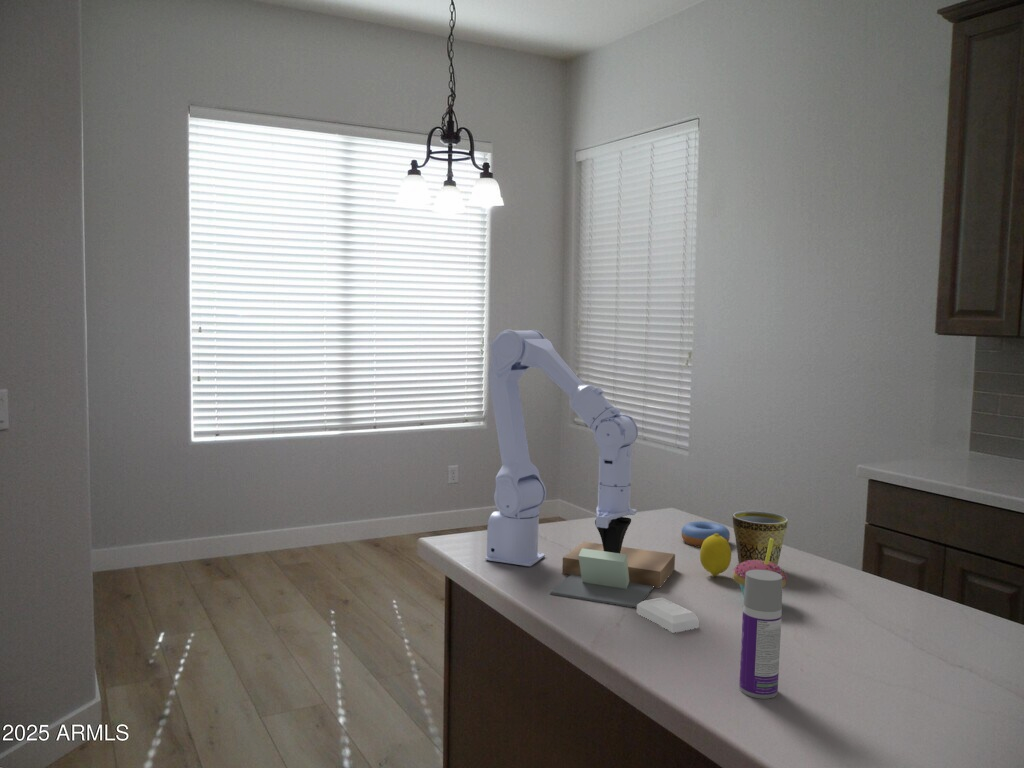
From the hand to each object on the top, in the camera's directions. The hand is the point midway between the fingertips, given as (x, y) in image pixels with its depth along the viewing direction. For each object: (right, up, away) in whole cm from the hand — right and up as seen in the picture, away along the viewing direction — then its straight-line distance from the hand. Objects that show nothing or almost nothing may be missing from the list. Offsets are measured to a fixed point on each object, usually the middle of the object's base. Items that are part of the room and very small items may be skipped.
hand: (611, 558), depth 147 cm
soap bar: (+6, -6, -19) cm, 21 cm away
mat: (-2, -4, -6) cm, 8 cm away
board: (+2, -4, +5) cm, 6 cm away
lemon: (+19, -4, +4) cm, 20 cm away
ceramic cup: (+29, -4, +10) cm, 31 cm away
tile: (-2, 0, -4) cm, 5 cm away
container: (+13, -8, -43) cm, 46 cm away
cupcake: (+23, -5, -10) cm, 26 cm away
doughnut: (+23, -3, +27) cm, 35 cm away
